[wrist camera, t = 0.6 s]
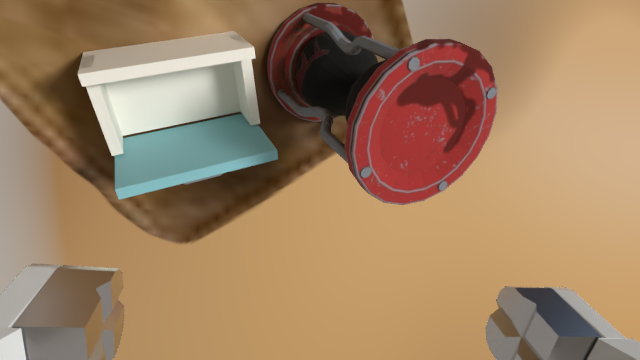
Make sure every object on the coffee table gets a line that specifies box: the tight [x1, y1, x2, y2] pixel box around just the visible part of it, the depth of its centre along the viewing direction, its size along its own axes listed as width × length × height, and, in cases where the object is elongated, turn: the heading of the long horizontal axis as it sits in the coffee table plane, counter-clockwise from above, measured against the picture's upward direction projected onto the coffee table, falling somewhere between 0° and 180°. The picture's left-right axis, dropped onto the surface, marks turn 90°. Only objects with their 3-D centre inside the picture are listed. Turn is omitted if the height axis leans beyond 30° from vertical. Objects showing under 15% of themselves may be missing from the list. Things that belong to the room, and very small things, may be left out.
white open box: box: [78, 31, 260, 156], centre depth 46 cm, size 10×17×9 cm, turn 92°
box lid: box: [115, 114, 278, 199], centre depth 47 cm, size 2×17×12 cm, turn 92°
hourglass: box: [267, 3, 497, 205], centre depth 47 cm, size 16×16×25 cm
